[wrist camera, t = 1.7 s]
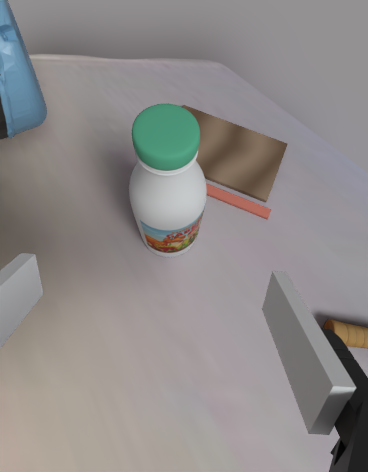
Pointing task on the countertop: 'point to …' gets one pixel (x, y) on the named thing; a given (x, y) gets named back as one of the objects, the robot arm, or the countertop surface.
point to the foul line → (238, 201)
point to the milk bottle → (167, 179)
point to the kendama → (349, 333)
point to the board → (237, 156)
